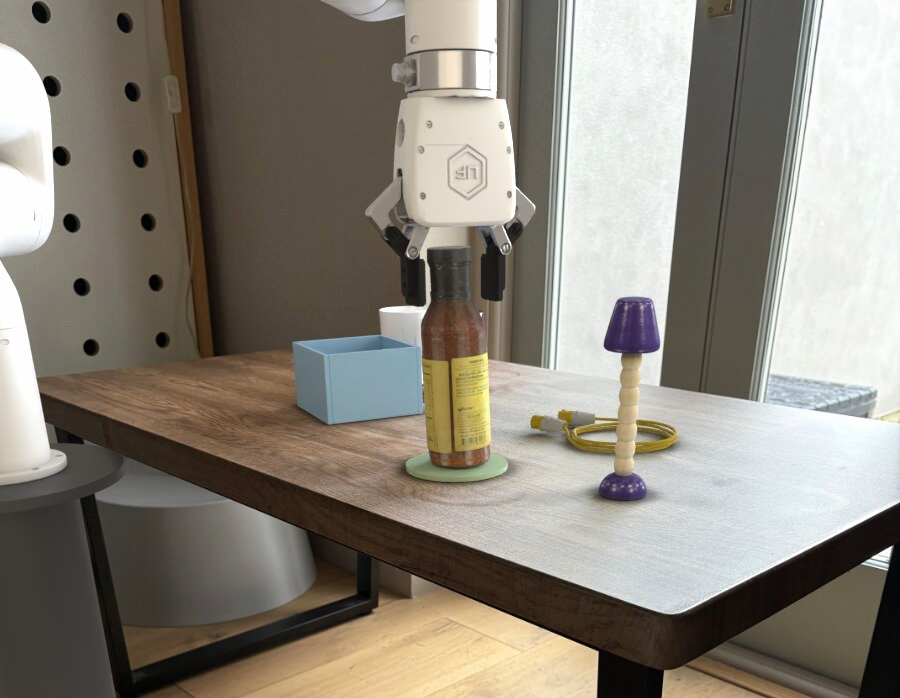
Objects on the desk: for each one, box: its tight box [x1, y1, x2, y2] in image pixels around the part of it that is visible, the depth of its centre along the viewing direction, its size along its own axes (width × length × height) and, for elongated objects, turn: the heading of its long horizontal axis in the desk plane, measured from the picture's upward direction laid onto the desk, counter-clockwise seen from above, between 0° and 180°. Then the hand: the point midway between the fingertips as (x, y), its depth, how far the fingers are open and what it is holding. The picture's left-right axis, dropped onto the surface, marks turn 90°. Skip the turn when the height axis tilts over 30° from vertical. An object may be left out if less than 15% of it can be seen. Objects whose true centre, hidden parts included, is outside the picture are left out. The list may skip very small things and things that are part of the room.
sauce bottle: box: [421, 245, 492, 469], centre depth 87 cm, size 6×6×20 cm
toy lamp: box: [598, 296, 661, 501], centre depth 79 cm, size 5×5×17 cm
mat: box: [405, 452, 509, 483], centre depth 91 cm, size 10×10×1 cm
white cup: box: [378, 305, 428, 385], centre depth 131 cm, size 8×8×10 cm
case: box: [292, 334, 424, 426], centre depth 115 cm, size 12×12×8 cm
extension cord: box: [530, 409, 679, 454], centre depth 101 cm, size 12×16×2 cm
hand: (454, 301), depth 85 cm, fingers open, 7 cm apart
